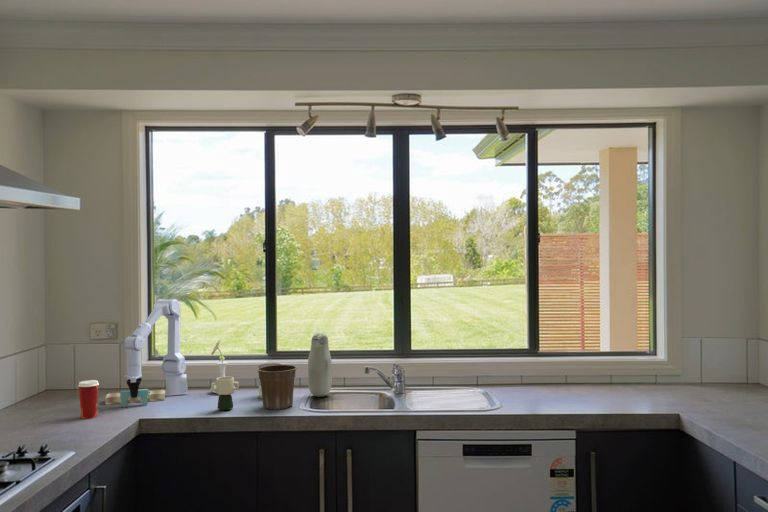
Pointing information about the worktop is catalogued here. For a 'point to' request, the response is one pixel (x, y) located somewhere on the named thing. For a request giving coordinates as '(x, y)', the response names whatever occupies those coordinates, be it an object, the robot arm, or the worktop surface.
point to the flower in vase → (220, 364)
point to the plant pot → (277, 385)
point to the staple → (126, 393)
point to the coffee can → (259, 379)
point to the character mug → (225, 391)
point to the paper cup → (88, 398)
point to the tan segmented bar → (152, 396)
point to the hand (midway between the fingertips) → (134, 396)
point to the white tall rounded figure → (319, 366)
